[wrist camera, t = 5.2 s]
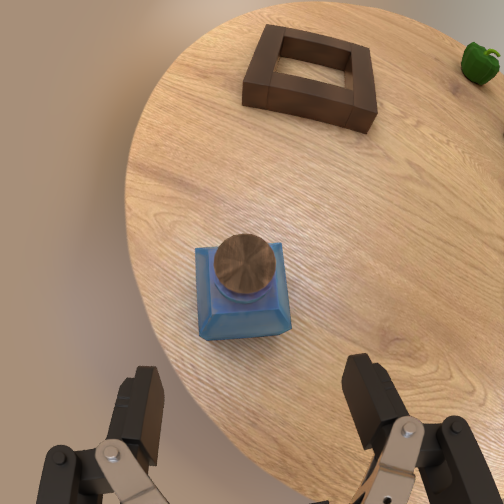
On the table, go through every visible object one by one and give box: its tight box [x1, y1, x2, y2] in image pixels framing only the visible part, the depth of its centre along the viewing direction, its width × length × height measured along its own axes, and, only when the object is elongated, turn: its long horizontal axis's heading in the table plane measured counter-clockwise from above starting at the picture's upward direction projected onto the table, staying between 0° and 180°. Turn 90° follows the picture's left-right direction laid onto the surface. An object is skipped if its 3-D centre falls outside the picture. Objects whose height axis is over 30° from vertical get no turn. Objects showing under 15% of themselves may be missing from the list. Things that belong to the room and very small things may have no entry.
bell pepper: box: [461, 42, 500, 85], centre depth 40 cm, size 8×8×10 cm
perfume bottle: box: [195, 234, 292, 341], centre depth 21 cm, size 6×6×12 cm
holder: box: [242, 24, 378, 134], centre depth 35 cm, size 16×16×4 cm
